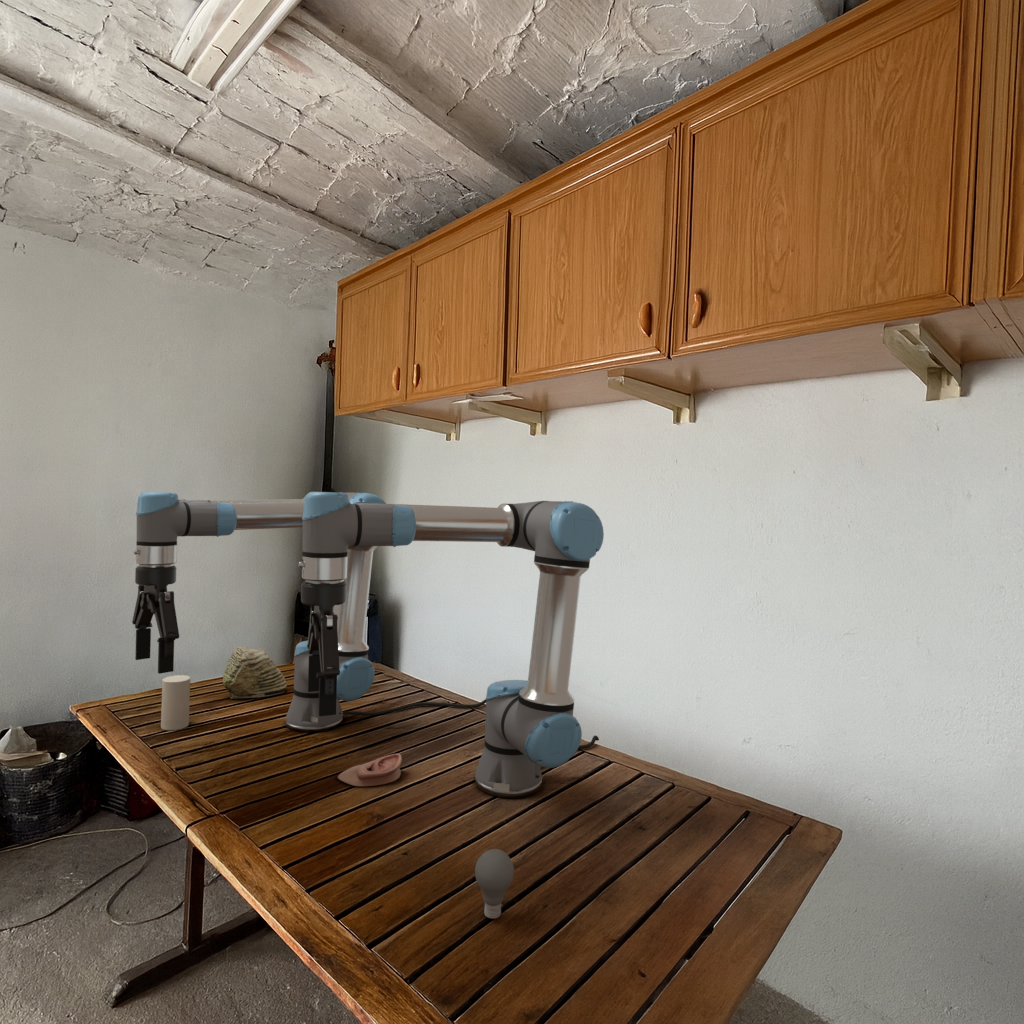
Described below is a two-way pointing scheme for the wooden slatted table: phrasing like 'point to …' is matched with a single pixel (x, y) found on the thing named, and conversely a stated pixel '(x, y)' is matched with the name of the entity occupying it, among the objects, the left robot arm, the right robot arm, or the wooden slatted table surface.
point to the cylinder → (175, 702)
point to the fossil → (252, 674)
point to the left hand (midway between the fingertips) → (153, 665)
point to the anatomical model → (373, 772)
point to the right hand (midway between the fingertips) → (321, 702)
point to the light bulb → (494, 879)
